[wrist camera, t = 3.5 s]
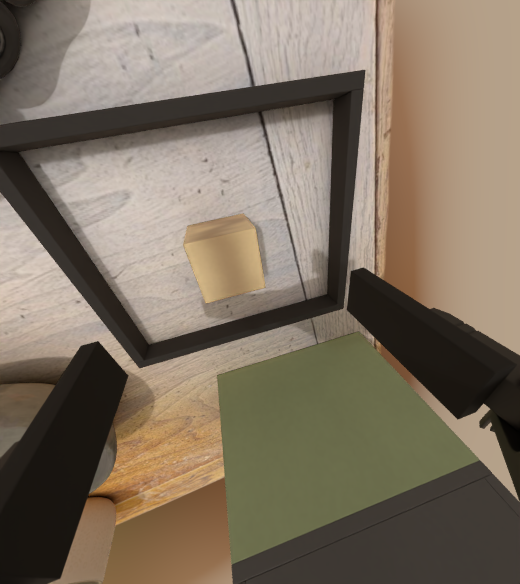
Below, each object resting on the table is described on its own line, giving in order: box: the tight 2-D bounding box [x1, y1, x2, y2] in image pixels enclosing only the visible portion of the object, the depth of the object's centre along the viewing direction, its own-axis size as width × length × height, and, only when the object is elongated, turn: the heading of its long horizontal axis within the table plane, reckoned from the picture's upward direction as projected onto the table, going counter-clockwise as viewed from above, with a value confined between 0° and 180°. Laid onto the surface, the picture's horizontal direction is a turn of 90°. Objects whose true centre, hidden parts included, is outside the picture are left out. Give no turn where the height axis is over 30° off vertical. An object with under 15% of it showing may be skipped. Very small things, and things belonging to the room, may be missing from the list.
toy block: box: [183, 214, 265, 303], centre depth 19 cm, size 6×6×6 cm
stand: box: [217, 332, 479, 564], centre depth 29 cm, size 24×15×18 cm, turn 99°
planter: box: [48, 497, 116, 584], centre depth 38 cm, size 12×12×11 cm
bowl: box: [0, 383, 117, 494], centre depth 23 cm, size 21×21×8 cm
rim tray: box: [0, 70, 365, 368], centre depth 20 cm, size 26×22×2 cm
